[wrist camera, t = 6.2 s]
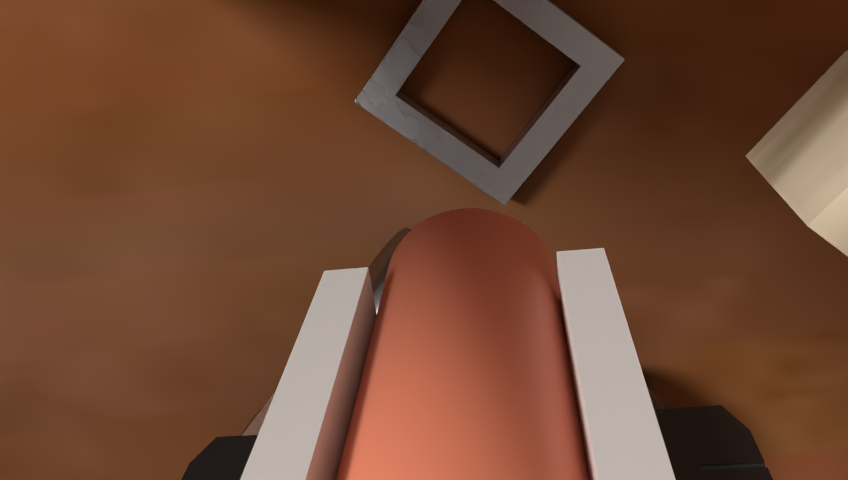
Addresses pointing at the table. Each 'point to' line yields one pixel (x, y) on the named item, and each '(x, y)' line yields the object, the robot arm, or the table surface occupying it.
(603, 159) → the table surface
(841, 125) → the block
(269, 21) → the table surface
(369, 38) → the table surface
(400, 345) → the pin
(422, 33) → the collar
